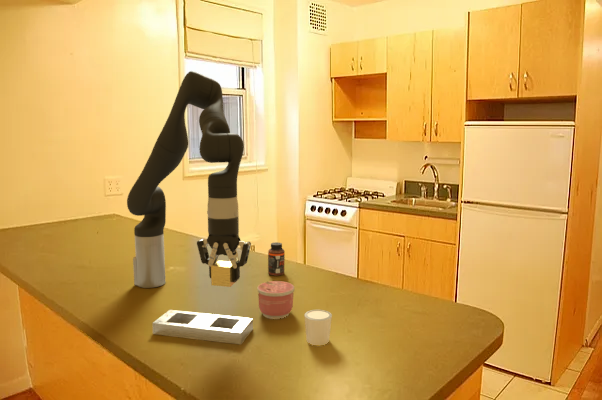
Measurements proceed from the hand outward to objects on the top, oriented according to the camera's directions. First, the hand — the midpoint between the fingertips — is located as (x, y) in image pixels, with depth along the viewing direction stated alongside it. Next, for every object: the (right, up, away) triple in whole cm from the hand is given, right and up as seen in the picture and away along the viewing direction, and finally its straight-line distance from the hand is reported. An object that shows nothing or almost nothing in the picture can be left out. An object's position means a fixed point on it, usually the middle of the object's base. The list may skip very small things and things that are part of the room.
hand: (224, 280), depth 117 cm
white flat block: (-6, -14, +3) cm, 16 cm away
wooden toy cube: (0, -1, 0) cm, 1 cm away
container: (+12, -12, +16) cm, 23 cm away
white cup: (+24, -15, -1) cm, 28 cm away
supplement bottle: (+10, -7, +51) cm, 53 cm away
